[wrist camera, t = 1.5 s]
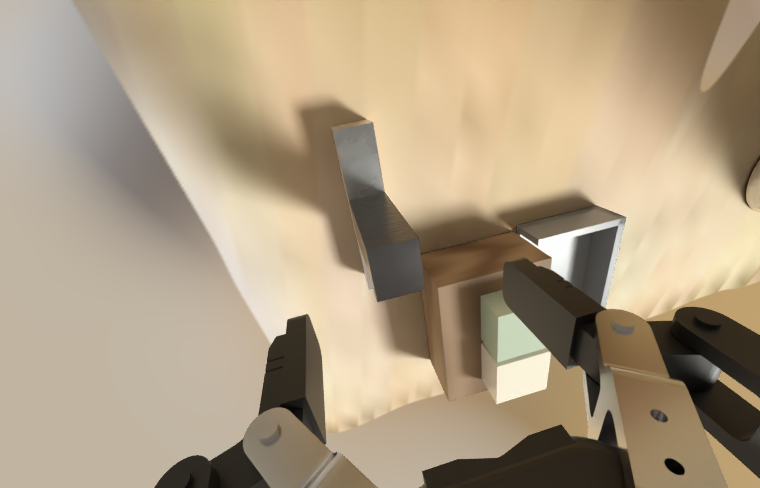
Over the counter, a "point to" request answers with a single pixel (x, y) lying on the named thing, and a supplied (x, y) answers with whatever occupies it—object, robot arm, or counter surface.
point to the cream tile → (515, 374)
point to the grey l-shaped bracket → (376, 216)
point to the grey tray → (580, 247)
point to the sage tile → (504, 329)
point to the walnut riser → (465, 304)
